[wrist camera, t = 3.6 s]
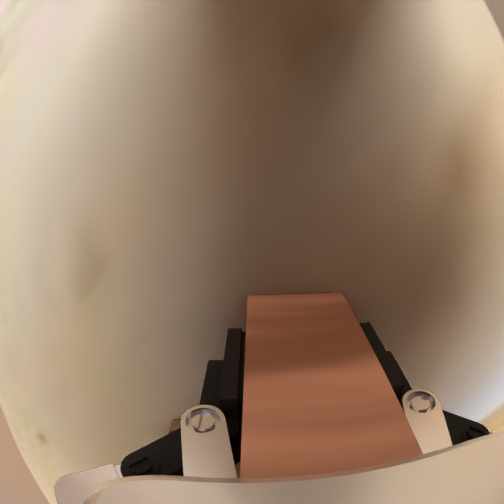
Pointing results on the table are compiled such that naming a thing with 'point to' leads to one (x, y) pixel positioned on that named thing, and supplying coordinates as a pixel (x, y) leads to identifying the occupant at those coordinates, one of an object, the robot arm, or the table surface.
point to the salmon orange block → (315, 391)
